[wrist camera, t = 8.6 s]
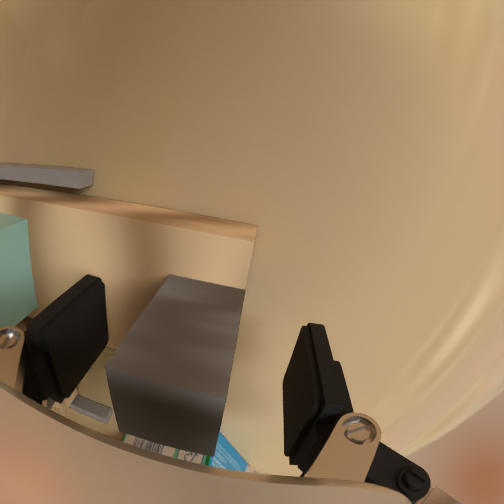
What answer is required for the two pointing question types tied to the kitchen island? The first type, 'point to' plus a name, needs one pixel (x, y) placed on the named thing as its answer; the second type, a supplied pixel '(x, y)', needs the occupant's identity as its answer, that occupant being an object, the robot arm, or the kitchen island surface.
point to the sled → (148, 302)
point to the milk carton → (222, 457)
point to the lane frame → (65, 179)
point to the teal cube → (15, 271)
